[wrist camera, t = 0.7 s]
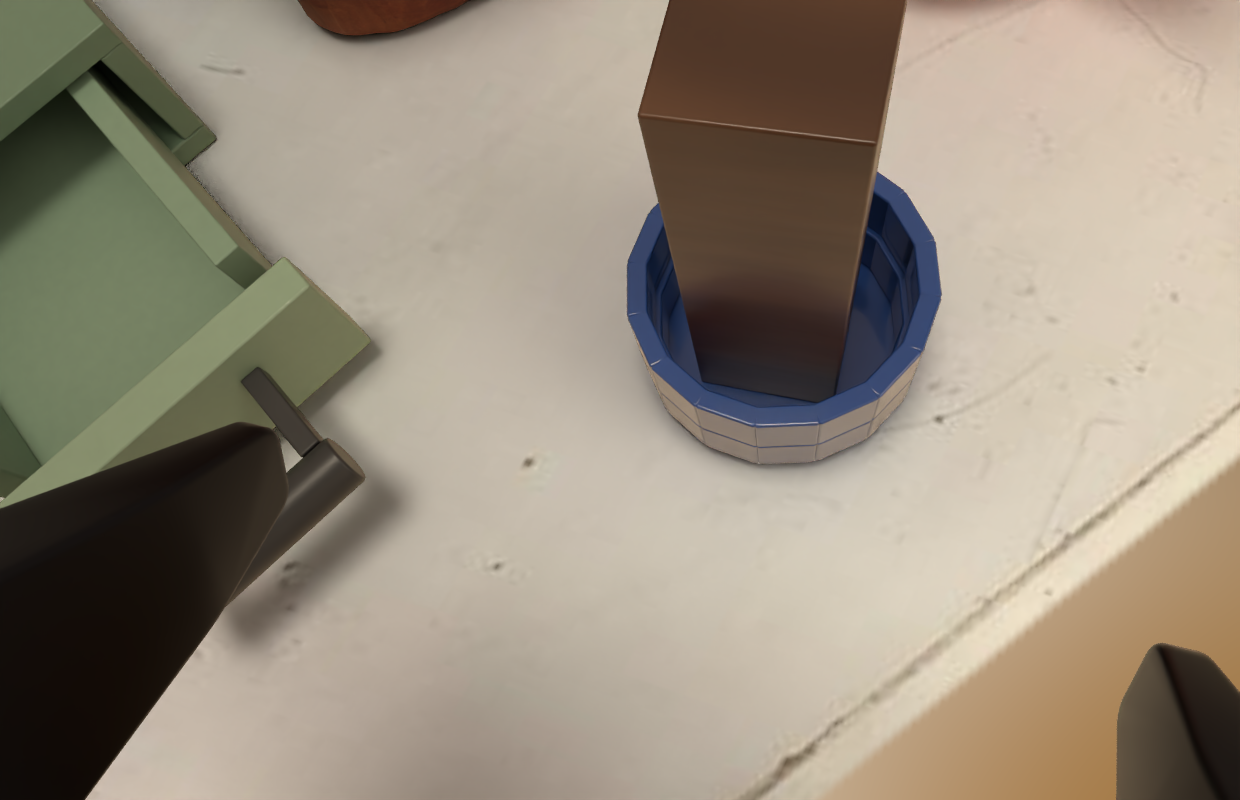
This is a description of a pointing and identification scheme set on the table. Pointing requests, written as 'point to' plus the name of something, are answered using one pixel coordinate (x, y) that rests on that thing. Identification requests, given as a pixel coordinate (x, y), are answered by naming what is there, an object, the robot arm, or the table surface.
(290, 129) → the table surface
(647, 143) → the walnut block
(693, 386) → the blue bowl
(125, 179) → the drawer
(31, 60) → the cabinet
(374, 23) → the wooden figurine
